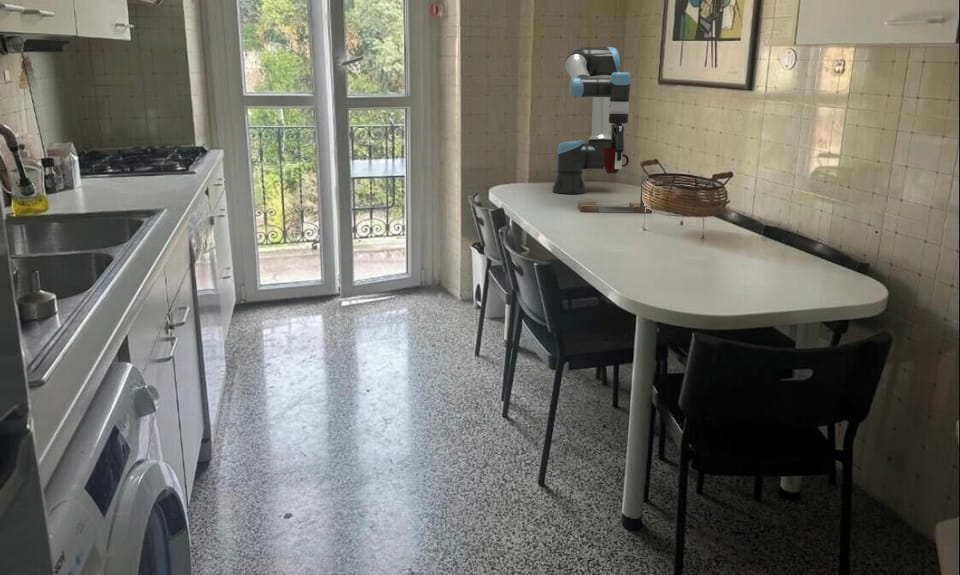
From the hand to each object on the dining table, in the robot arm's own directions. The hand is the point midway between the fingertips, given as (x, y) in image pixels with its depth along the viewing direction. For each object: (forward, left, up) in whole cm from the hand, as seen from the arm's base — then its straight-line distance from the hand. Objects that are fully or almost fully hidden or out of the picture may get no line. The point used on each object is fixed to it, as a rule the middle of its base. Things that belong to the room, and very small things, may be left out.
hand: (615, 167), depth 290 cm
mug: (-2, 0, -3) cm, 3 cm away
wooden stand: (+2, 0, -17) cm, 17 cm away
